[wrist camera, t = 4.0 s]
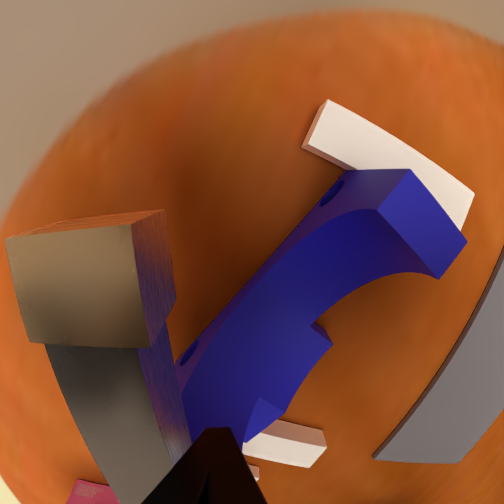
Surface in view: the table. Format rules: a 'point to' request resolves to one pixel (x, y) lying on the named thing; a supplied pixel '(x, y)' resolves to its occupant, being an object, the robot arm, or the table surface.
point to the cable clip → (309, 297)
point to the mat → (458, 390)
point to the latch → (108, 337)
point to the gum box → (92, 494)
